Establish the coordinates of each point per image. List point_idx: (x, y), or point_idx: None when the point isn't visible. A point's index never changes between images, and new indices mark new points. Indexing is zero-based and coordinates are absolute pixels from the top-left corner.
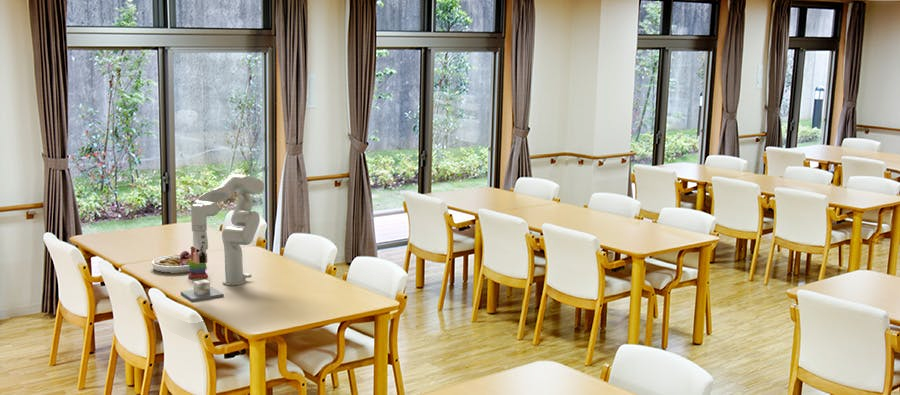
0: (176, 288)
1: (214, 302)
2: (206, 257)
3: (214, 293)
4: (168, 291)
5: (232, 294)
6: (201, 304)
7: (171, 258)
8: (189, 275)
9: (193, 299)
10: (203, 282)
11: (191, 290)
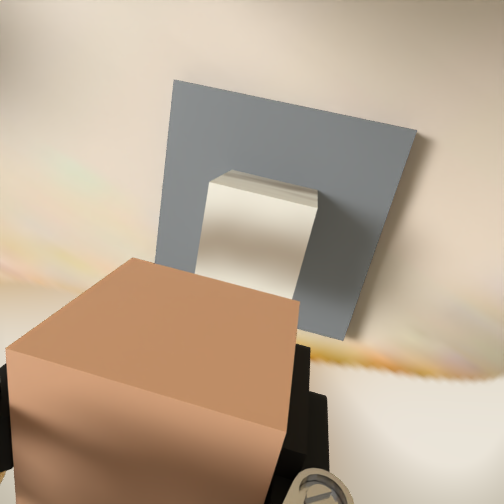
0: (31, 229)
1: (473, 257)
2: (288, 371)
3: (349, 173)
4: (66, 290)
5: (417, 37)
6: (436, 330)
7: None
8: None
9: (345, 330)
10: (287, 251)
11: (170, 235)
